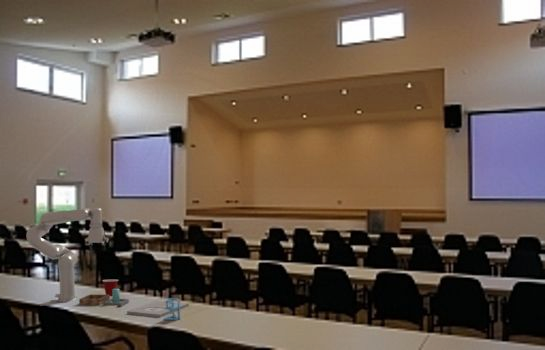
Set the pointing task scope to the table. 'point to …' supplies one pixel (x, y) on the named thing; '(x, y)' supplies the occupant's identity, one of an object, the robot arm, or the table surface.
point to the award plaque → (155, 309)
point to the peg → (115, 296)
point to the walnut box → (94, 299)
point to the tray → (124, 301)
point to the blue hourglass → (173, 309)
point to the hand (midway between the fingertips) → (97, 250)
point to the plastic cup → (110, 285)
